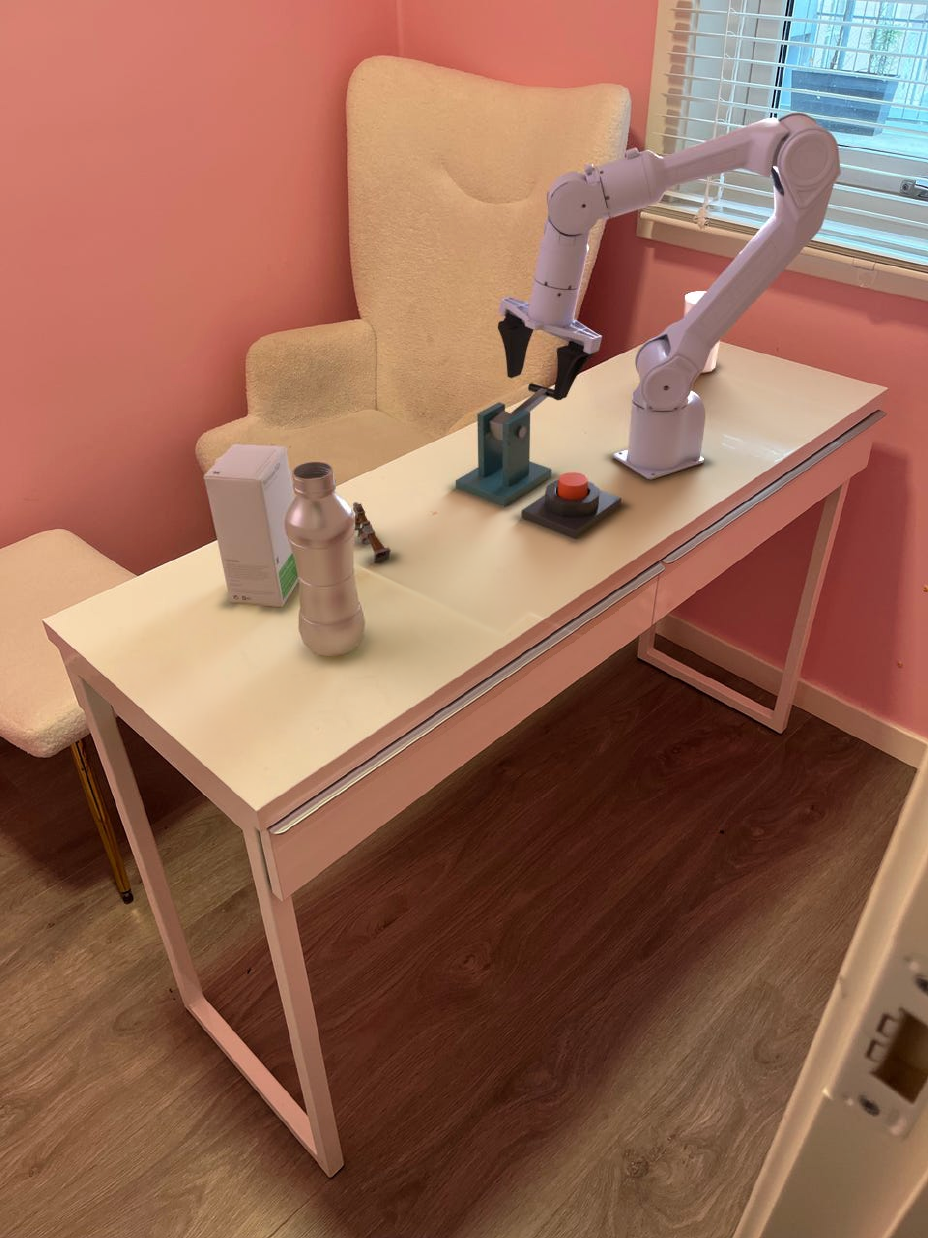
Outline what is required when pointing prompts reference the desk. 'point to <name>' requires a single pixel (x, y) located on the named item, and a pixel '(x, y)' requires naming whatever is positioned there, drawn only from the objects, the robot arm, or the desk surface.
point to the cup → (711, 361)
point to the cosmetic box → (253, 523)
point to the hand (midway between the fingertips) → (536, 386)
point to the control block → (571, 510)
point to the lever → (520, 409)
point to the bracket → (503, 460)
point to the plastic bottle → (324, 562)
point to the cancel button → (572, 485)
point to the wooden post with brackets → (368, 533)
